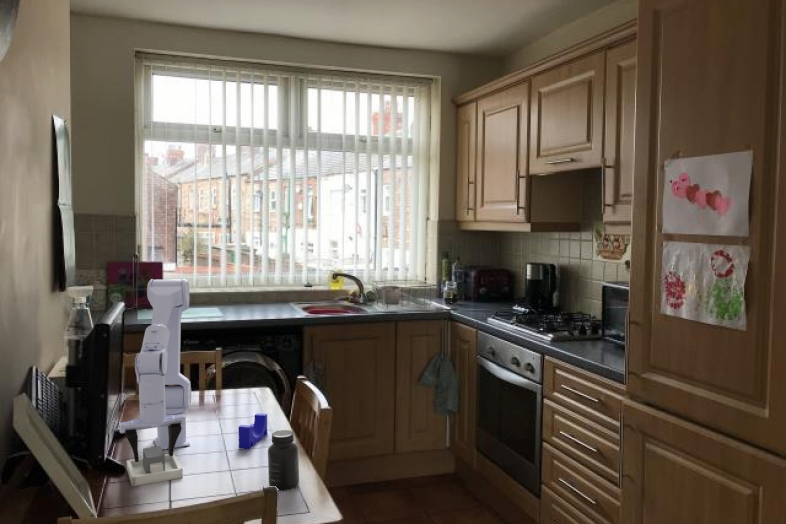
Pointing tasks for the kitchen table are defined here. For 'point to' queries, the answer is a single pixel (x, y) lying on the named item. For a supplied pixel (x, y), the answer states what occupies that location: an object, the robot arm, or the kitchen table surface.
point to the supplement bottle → (283, 461)
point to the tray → (140, 477)
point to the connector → (153, 460)
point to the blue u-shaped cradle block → (253, 431)
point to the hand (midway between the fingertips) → (153, 457)
